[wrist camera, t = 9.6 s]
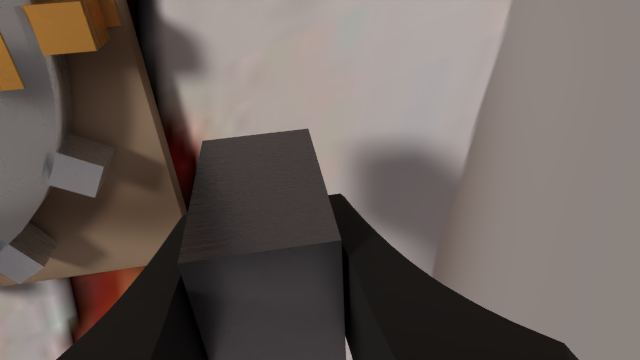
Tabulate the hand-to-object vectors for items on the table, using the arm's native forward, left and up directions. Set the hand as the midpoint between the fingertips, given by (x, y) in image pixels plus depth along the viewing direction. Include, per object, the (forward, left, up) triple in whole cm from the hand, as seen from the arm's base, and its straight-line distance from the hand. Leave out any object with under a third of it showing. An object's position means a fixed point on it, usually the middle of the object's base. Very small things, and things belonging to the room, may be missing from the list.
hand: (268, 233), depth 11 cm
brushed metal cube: (0, 0, -2) cm, 2 cm away
